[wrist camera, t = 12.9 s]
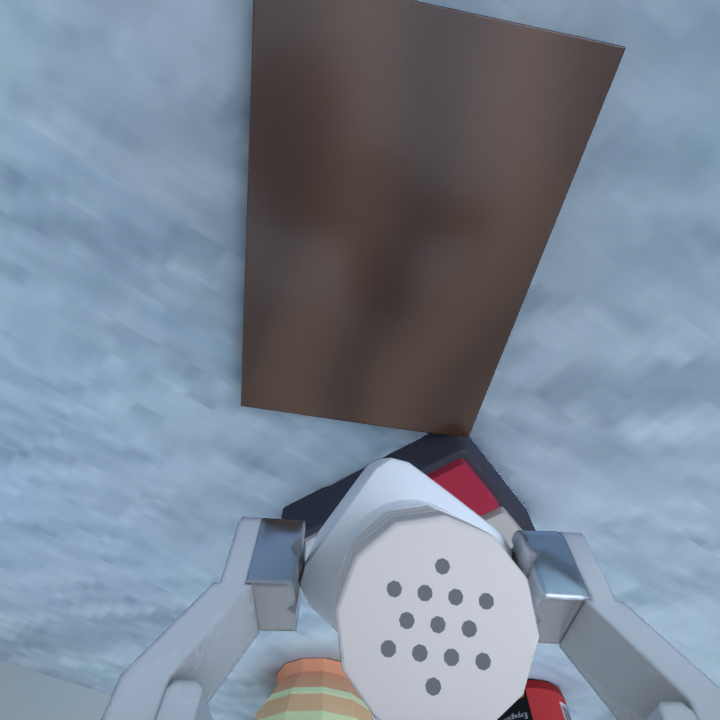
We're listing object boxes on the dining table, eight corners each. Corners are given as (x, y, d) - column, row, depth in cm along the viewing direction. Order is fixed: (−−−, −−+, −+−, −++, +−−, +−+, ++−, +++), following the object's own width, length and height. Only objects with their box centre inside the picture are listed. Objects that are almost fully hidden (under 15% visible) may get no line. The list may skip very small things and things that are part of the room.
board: (245, 394, 27) (240, 406, 26) (261, -28, 16) (254, -36, 15) (464, 426, 28) (468, 438, 27) (611, 49, 17) (627, 46, 16)
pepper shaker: (310, 541, 16) (254, 654, 7) (375, 452, 17) (409, 440, 7) (398, 614, 15) (473, 847, 6) (461, 519, 16) (612, 595, 7)
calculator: (547, 553, 29) (367, 630, 34) (524, 503, 33) (365, 578, 37) (469, 456, 25) (271, 559, 29) (453, 411, 28) (280, 507, 33)
